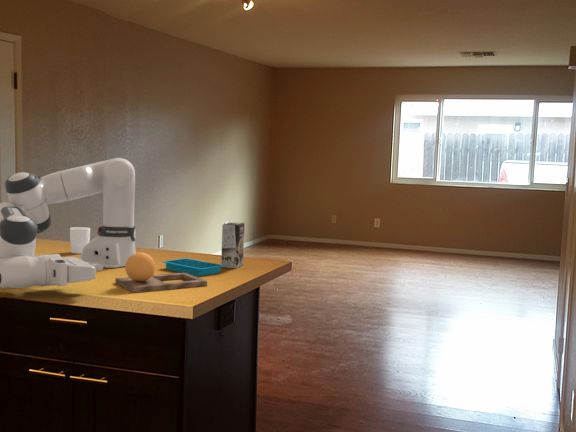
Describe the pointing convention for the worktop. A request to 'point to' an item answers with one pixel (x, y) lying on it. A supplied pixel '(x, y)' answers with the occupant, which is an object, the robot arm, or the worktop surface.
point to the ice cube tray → (193, 266)
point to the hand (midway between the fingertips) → (101, 266)
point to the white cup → (79, 238)
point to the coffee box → (232, 245)
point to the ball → (140, 267)
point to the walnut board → (157, 284)
